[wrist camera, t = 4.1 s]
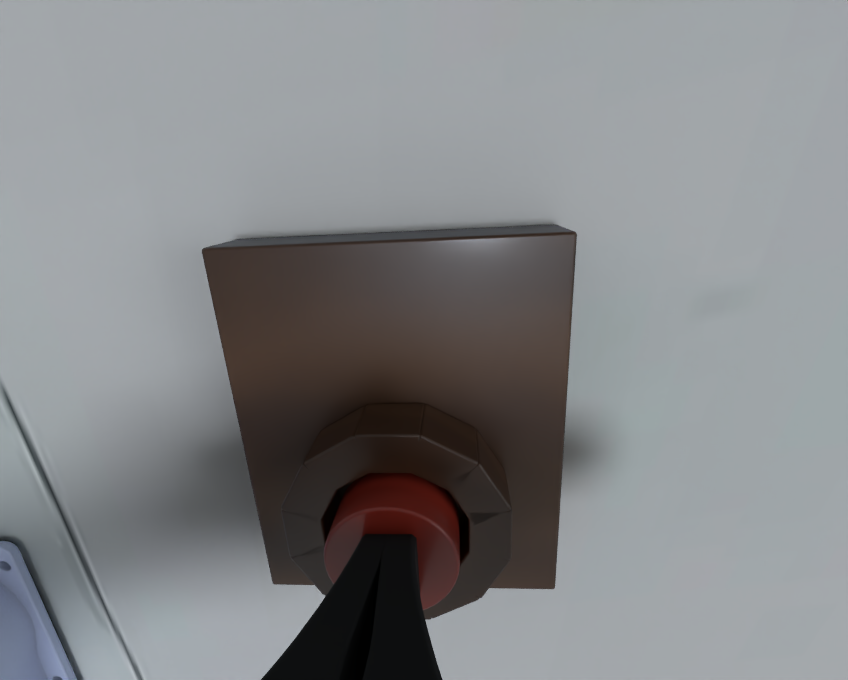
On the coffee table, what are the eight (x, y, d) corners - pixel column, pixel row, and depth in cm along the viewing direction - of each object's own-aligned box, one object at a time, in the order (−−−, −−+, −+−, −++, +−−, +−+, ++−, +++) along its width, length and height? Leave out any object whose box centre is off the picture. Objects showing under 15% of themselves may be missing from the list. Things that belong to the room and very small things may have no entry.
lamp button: (460, 565, 14) (461, 617, 12) (345, 563, 14) (331, 614, 12) (457, 466, 12) (457, 508, 11) (332, 466, 13) (314, 508, 11)
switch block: (543, 541, 17) (568, 641, 13) (293, 539, 18) (250, 633, 14) (558, 224, 13) (600, 239, 9) (237, 238, 14) (157, 258, 10)
